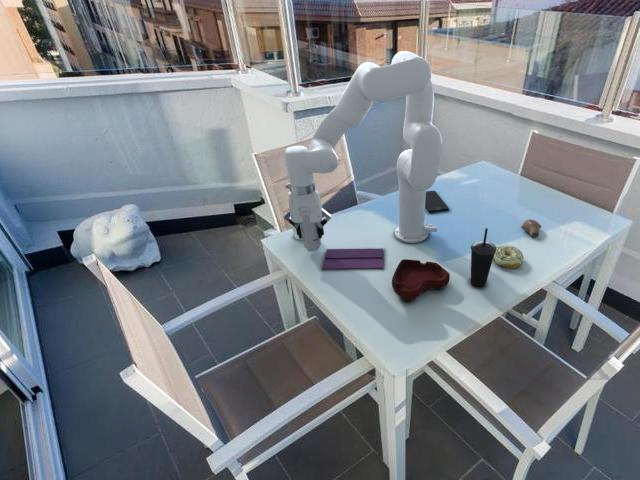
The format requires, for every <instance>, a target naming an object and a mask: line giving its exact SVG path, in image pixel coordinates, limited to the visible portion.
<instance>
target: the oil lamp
mask: <svg viewBox="0 0 640 480" xmlns="http://www.w3.org/2000/svg"><path fill="white" fill-rule="evenodd" d="M520 228H521V229H523V231H525V232H527V233H529V236H530V237H532V238H536V237H539V233H538V231H539V230H540V229H541V228H542V225H541V224H540V223H539V222H538V221H537V220H535V219H530V218H529V219H526V220H525V221H523V223H522V224H521V226H520Z"/></svg>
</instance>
